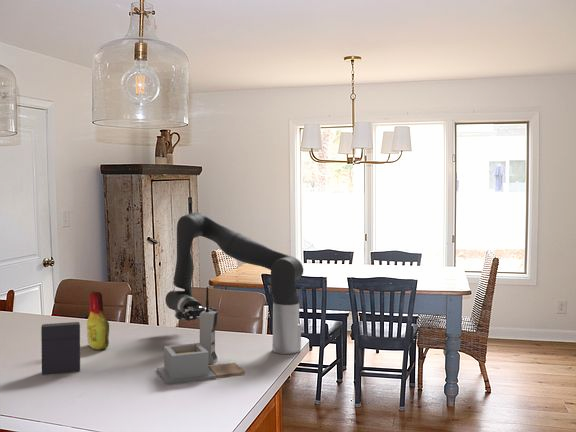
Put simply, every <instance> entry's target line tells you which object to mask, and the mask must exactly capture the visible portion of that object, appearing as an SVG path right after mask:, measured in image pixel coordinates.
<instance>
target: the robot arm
mask: <svg viewBox="0 0 576 432" xmlns="http://www.w3.org/2000/svg"><path fill="white" fill-rule="evenodd" d="M198 237H203V238H205V239H208V240H210V241H212V242H214V243H215V244H217V246H218V247H219V248H220V250H221V251H222V252H223V253H224V254H226V255H227V256H228V257H230V258H232V259H235V260H236V261H239V262H241V263H244V264H249V265H253V266H256V267H257V266H259V267H262V268H265V269H268V270H269V271H270V292H271V296H272V352H274V353H276V354H283V355H292V354H296V353H299V352H301V351H302V346H301V345H302V344H301V343H302V325H301V324H300V295H299V294H298V293H297V292H296V282H297V281H298V280H299V279H301V277H302V276H303V275H304V266H303V264H302V263H301V261H300V260H299V259H298V258H296V257H294V256H292V255H288V254H285V253H284V252H283V253H282V252H280V251H277V250H274V249H272V248H270V247H268V246H266V245H264V244H262V243H260V242H259V241H257V240H254V239H252V238H251V237H248V236H247V235H244V234H242V233H241V232H237V231H235V230H233V229H230V228H229V227H226V226H224V225H222V224H220V223H218V222H216V221H215V220H213V219H211V218H210V217H208V216H207V215H205V214H203V213H201V212H192V213H188V214H186V215H182V216H181V217H180V218H178V221H177V224H176V261H175V263H176V264H175V270H174V275H173V280H172V281H173V283H172V284H173V285H174V286H175V287H176V288H178V289H182V290H170V291H168V292H167V293H166V295H165V304H166V306H167V308H168V309H170V310H173V311H174V317H175V318H176V319H177V320H181V319H182V320H186V321H187V322H190V321H195V320H198V319H200V313H201V312H203V311H206V306H204V307H203V305H202V303H201V302H200V301H199V300H197V299H196V298H194V297H193V292H192V291H193V290H192V284H193V283H192V281H193V277H194V276H193V275H194V271H195V268H194V267H195V266H194V265H195V264H194V260H193V258H192V257H193V256H192V245H193V243H194V242H193V241H194V239H196V238H198ZM209 311H218V309H217V308H215V307H214V306H209Z"/></svg>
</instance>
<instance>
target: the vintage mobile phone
mask: <svg viewBox="0 0 576 432" xmlns="http://www.w3.org/2000/svg"><path fill="white" fill-rule="evenodd" d="M205 293H206V297H205V298H206V299H205V307H206V311H203V312H201V313H200V317H199V343H200V344H201V345H202V346H203V347H204V348H205V349H206V350H207V351H208V352H209V361H208V365H215V363H216V362H217V361H218V355H217V353H216V348H215V347H216V328H217V324H218V315H219V312H218V310H217V311H209V307H210V306H209V304H210V303H209V302H210V301H209V286H206V292H205Z"/></svg>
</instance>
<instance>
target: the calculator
mask: <svg viewBox="0 0 576 432" xmlns="http://www.w3.org/2000/svg"><path fill="white" fill-rule="evenodd" d="M40 329H41V332H40V333H41V335H40V336H41V375H42V376H46V375H47V376H49V375H57V374H67V373H78V372H80V371H81V323H80V321H71V322H56V323H43V324H41V328H40Z"/></svg>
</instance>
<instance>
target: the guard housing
mask: <svg viewBox="0 0 576 432" xmlns="http://www.w3.org/2000/svg"><path fill="white" fill-rule="evenodd" d="M193 351H195V352H193ZM184 352H192V353H184ZM176 353H182V354H176ZM163 357H164V358H163V359H164V365H163V366H162V367H156V371H157V373H158V375H159V377H160V378H161V380H162V382H164V384H165V385H166V386H171V385H179V384H180V385H181V384H186V383H196V382H203V381H212V380H217V377H216V375H215V374H214V373H213V372H212V371H211V370H210V369H209V368H208V366H209V364H208V361H209V352H208V351H207V350H206V349H205V348H204V347H203V346H202V345H201V344H200V342H195V343H194V342H193V343H185V344H177V345H176V344H175V345H166V346H164V356H163Z"/></svg>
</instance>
